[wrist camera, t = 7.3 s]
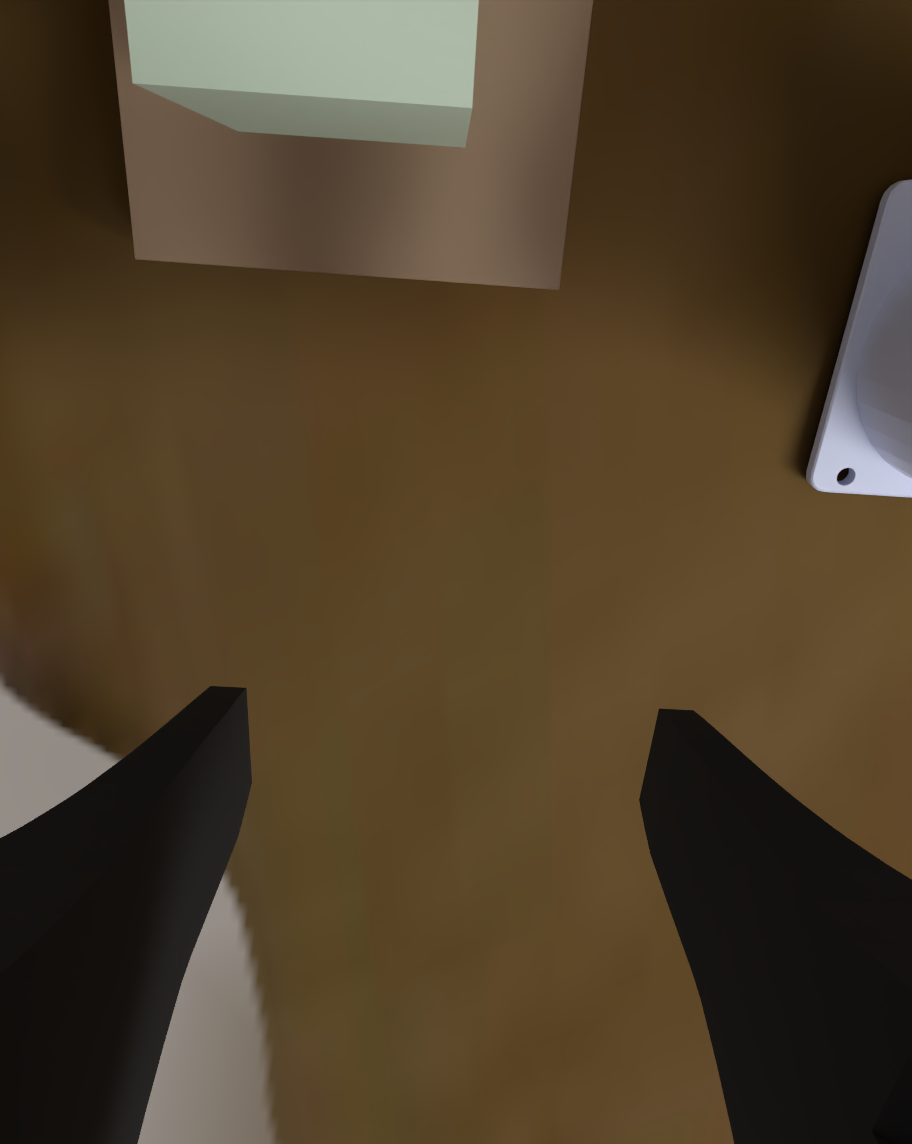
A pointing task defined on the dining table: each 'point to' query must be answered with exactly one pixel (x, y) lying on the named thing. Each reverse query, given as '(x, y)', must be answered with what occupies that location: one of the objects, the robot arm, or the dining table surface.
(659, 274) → the dining table surface
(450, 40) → the green block
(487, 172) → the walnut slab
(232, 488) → the dining table surface
